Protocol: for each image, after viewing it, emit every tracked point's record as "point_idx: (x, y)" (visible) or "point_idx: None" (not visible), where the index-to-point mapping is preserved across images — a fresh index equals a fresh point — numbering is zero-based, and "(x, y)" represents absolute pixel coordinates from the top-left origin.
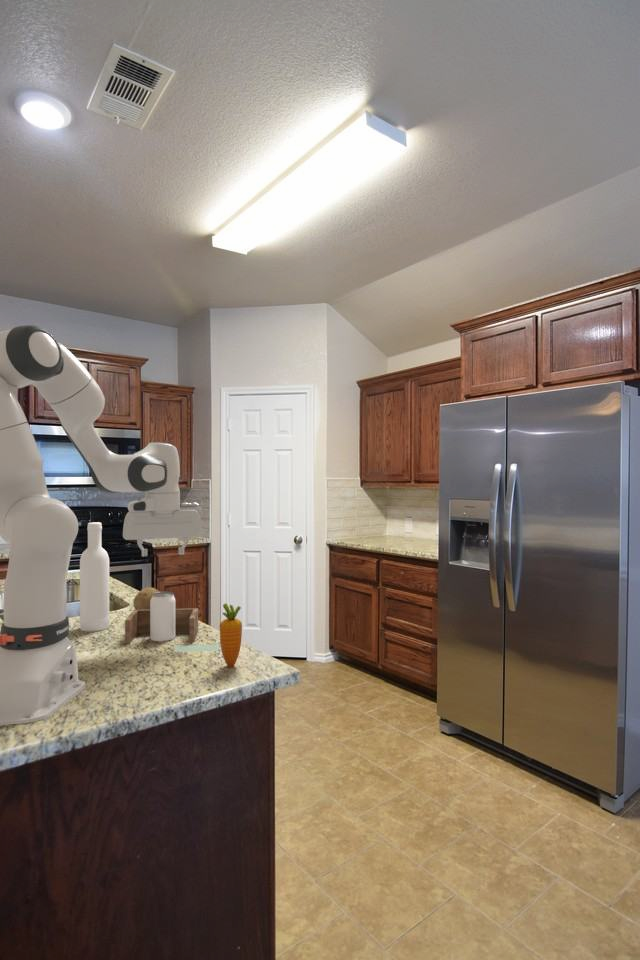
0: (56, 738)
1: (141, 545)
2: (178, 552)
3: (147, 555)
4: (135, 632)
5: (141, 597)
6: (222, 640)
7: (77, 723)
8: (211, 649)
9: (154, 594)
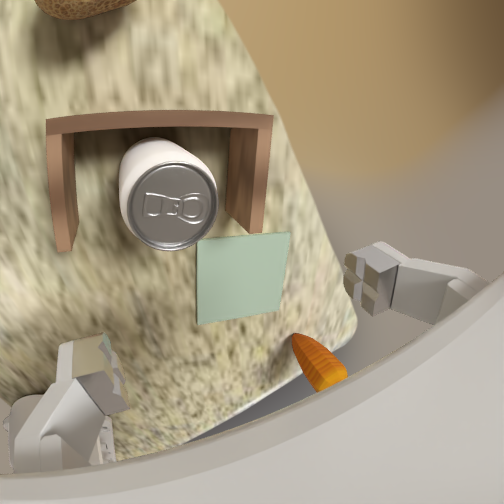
0: None
1: (90, 456)
2: (351, 255)
3: (123, 370)
4: (72, 159)
5: (56, 3)
6: (305, 375)
7: (142, 451)
8: (273, 263)
9: (132, 191)
